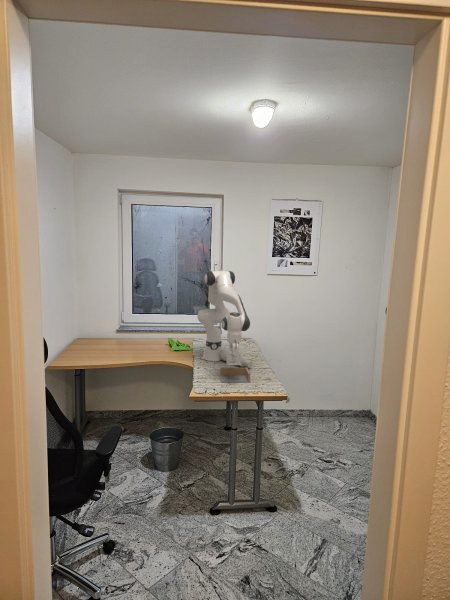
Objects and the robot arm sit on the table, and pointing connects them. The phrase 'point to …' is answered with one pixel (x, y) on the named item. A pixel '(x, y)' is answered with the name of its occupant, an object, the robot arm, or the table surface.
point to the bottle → (243, 359)
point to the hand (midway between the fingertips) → (233, 360)
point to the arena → (234, 375)
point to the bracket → (230, 360)
